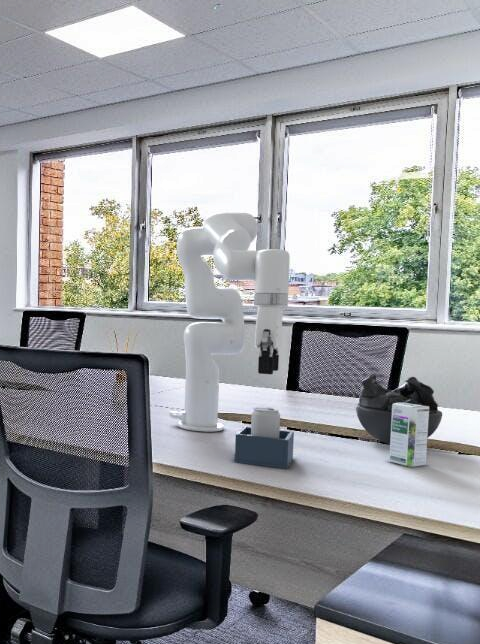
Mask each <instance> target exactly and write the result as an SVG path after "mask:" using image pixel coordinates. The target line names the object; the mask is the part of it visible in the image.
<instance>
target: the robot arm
mask: <svg viewBox="0 0 480 644" xmlns="http://www.w3.org/2000/svg"><path fill="white" fill-rule="evenodd" d="M258 225H259V224H258V221H257V219H256V218H255V216H253V215H252V214H251V213H247V212H228V211H222V212H219V211H218V212H214V213H212V214H210V215H208V216H206V218H205V219H204V221H203V223H202V226H195V227H194V226H193V227H188V228H185V229H183V230H182V231H180V233H179V235H178V237H177V240H176V253H177V258H178V261H179V264H180V267H181V270H182V275H183V280H184V281H183V283H184V295H185V307H186V311H187V314H188V315H189V316H190V317H191V318H194V319H200V320H201V319H202V320H203V319H204V320H222V322H215V321H214V322H213V321H212V322H211V321H198V322H193V323H191V324H189V325H187V326H186V328H185V329H184V331H183V344H184V353H185V383H184V384H185V385H184V388H185V389H184V410H182V411H180V412H178V411H172V410H171V411H170V413H169V418H171V419H176V420H180V421H179V422H178V427H179V428H181V429H184V430H187V431H192V432H193V431H194V432H202V433H203V432H205V433H206V432H208V433H209V432H210V433H212V432H213V433H214V432H221V431H223V430H224V425H223V424H222V423H219V395H220V369H219V368H220V367H219V365H218V364H217V362H216V361H215V359H214V358H213V357H212V356H215V355H219V356H220V355H222V356H223V355H225V356H226V355H231V356H232V355H233V356H234V355H238V354H240V353H242V352H243V351H244V349H245V347H246V346H245V345H246V329H245V327H246V326H245V316H244V308H243V300H242V296H241V295H240V293H239V291H238V290H236V289H235V288H232V287H222V286H221V287H219V286H218V287H217V286H216V284H215V278H214V277H215V276H214V271H213V269H212V267H211V266H210V265H209V263H208V262H207V261H206V260H205V259H204V258H203V257H202V256H204V257H212V259H213V264H214V268H215V269H216V270H217V271H218V272H219V274H220V275H221V276H222V277H223V278H225V279H227V280H230V281H254V288H253V289H254V290H253V291H254V293H253V296H254V297H253V307H254V308H257V310H256V317H255V318H256V319H255V330H254V331H255V334H254V347H255V348H256V349H259V353H258V361H257V362H258V364H257V373H258V374H259V375H273V374H274V372H277V371H279V361H280V354H279V347H281V344H282V343H281V342H282V334H283V333H282V332H283V311H284V310H283V308H289V288H290V287H289V286H290V261H291V259H290V258H291V257H290V253H289V251H287V250H285V249H279V248H278V249H277V248H275V249H274V248H273V249H260V250H249V249H250V246H251V244H252V243H253V241H255V239H256V237H257V236H258V232H259V226H258Z"/></svg>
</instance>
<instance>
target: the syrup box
mask: <svg viewBox="0 0 480 644" xmlns="http://www.w3.org/2000/svg"><path fill="white" fill-rule="evenodd" d="M428 419H429V406H421V405H415V404H410V403H394V404H392V419H391V439H390V444H389V455H388V462H389V463H394V464H398V465H402V466H404V467H405V466H406V467H409V468H414V467H422V466H426V465H427V451H428V450H427V449H428V438H427V436H428Z"/></svg>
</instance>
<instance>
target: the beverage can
mask: <svg viewBox="0 0 480 644" xmlns="http://www.w3.org/2000/svg"><path fill="white" fill-rule="evenodd" d="M279 411H280V410H279V408H275V407H268V406H255V407H253V410H252V411H251V417H250V418H251V419H250V424H251V425H250V427H251V435H253V436H262V437H270V438H279V434H280V430H281V429H280V428H281V414H280V412H279Z"/></svg>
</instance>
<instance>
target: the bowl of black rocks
mask: <svg viewBox="0 0 480 644" xmlns="http://www.w3.org/2000/svg"><path fill="white" fill-rule="evenodd" d="M404 381H405V383H403V384H402V385H401V386H399V387H397V388H395V389H394V390H390V389H388V388H387V389H386V388H384V387H383V386H382V385H381V384H380V383H379V382H378V381H377V375H376V374H375V373H370V374H369V375H368V376H367V377H366V378H364V379H363V380H362V381H361V383H360V384H361V385H362V387H361V389H360V394H359V397H358V402H357V403H356V405H355V412H356V416H357V418H358V422H359V423H360V425H361V426H362V428H363V429H364V430H365V432H367V433H368V434H369V435H370V436H372V437H373V438H374V439H376V440H378V441H379V442H381V443H384V444H387V445H390V439H391V419H392V404H394V403H410V404H415V405H421V406H429V419H428V436H427V439H428V438H430V437H431V436H432V435H433V434H434V433H435V432H436V430H437V429H438V428H439V426H440V425H441V422H442V419H443V412H442V411H441V410H438V409H439V408H438V407H439V404H438V403H437V401H436V400H435V398H434V393H435V390H434V389H433V388H432V387H431V386H430V385H427V384H425V383H423V382H422V381H419V380H418V378H417V377H416V376H410V377H408V378H407V379H406V380H404Z"/></svg>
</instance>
